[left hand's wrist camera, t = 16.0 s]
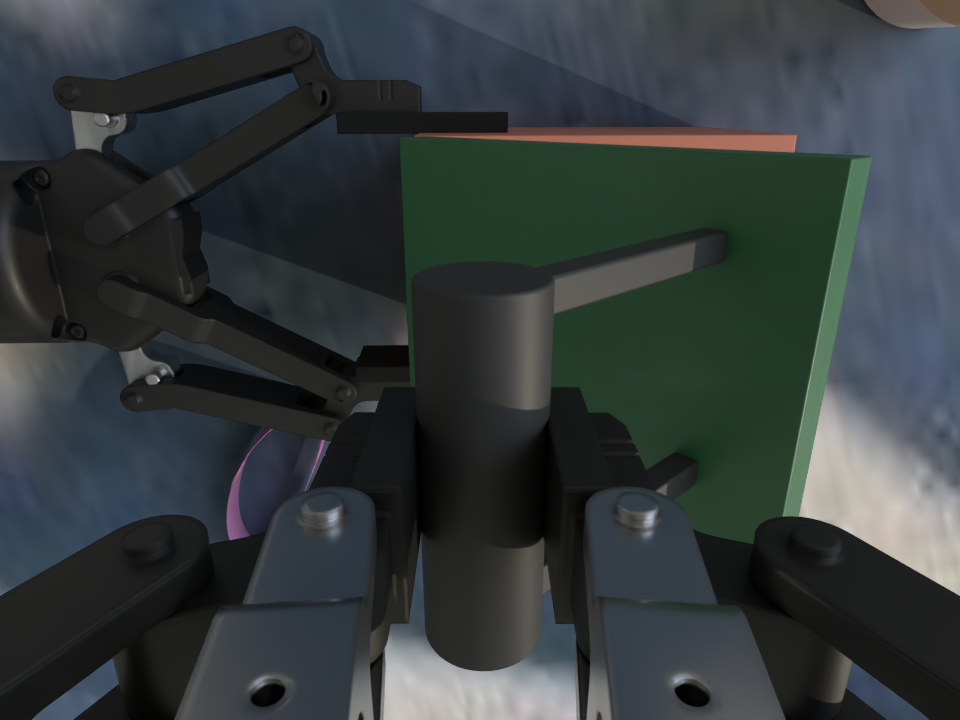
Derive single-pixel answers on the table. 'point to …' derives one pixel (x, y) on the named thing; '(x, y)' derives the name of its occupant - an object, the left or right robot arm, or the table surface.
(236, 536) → the headband
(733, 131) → the chest
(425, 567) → the lid
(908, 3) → the coffee cup
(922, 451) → the table surface
